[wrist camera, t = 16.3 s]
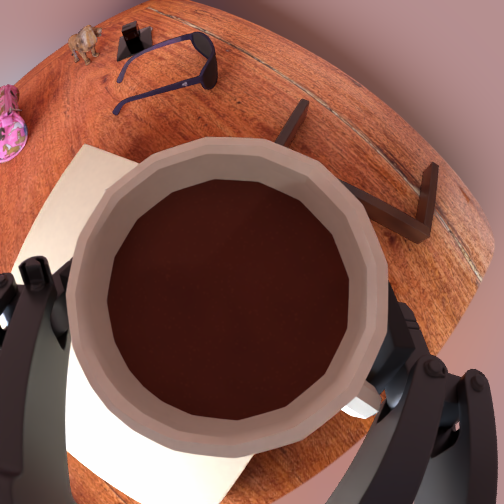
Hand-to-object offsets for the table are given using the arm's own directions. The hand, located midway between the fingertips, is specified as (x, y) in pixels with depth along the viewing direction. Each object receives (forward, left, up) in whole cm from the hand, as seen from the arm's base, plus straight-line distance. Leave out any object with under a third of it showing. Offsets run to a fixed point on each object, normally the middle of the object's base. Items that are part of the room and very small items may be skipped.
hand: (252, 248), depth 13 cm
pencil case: (+54, -5, -12) cm, 55 cm away
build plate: (+41, -31, -12) cm, 53 cm away
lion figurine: (+51, -26, -12) cm, 59 cm away
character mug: (-1, +3, -6) cm, 6 cm away
